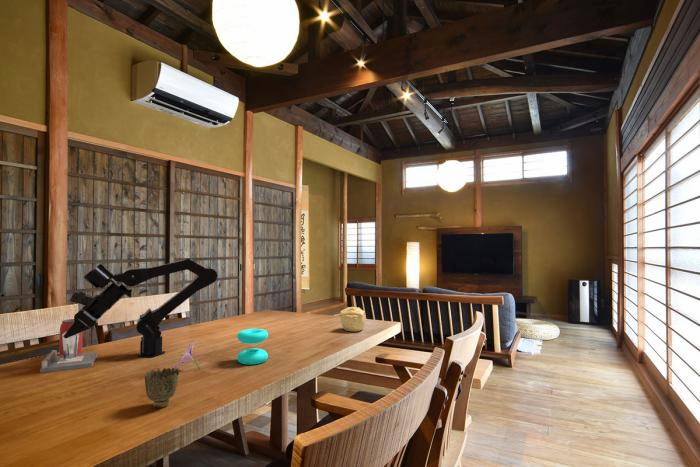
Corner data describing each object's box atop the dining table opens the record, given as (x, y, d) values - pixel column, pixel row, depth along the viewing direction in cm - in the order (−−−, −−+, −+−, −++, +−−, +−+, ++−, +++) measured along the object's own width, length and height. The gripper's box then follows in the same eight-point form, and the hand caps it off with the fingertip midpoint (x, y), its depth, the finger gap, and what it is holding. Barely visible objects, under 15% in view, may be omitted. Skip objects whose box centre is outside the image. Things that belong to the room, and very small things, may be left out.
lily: (194, 365, 129) (179, 341, 128) (221, 355, 125) (205, 329, 124) (170, 388, 118) (153, 362, 117) (198, 378, 114) (180, 350, 113)
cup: (151, 400, 97) (152, 367, 97) (182, 399, 98) (183, 366, 98) (137, 412, 90) (138, 377, 90) (171, 411, 90) (172, 376, 90)
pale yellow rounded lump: (338, 332, 175) (338, 308, 176) (343, 327, 187) (343, 304, 187) (363, 333, 173) (363, 309, 174) (367, 328, 185) (367, 305, 185)
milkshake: (83, 359, 128) (84, 328, 128) (62, 362, 124) (64, 330, 124) (79, 356, 131) (80, 326, 131) (60, 359, 127) (61, 328, 127)
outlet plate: (97, 355, 137) (97, 346, 137) (91, 367, 124) (91, 356, 124) (51, 360, 131) (51, 350, 131) (40, 372, 118) (40, 362, 118)
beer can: (70, 357, 134) (71, 322, 134) (54, 356, 135) (55, 321, 136) (86, 352, 140) (87, 318, 141) (71, 351, 142) (72, 318, 142)
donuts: (231, 331, 131) (257, 326, 138) (231, 361, 130) (256, 355, 138) (248, 335, 124) (274, 330, 131) (247, 367, 123) (273, 361, 131)
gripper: (91, 280, 138) (52, 313, 133) (84, 284, 122) (38, 323, 116) (117, 301, 142) (79, 335, 136) (113, 308, 125) (70, 347, 120)
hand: (67, 334), depth 127 cm, fingers open, 9 cm apart
